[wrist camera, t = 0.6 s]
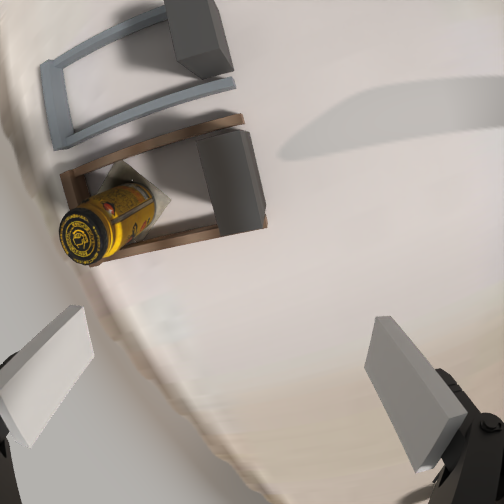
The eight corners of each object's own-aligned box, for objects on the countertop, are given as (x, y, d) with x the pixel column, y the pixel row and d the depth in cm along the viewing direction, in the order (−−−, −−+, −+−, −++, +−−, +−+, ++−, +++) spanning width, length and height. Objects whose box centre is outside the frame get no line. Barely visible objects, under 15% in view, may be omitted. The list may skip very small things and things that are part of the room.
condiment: (140, 244, 37) (91, 288, 26) (91, 203, 35) (31, 232, 24) (172, 199, 34) (126, 230, 23) (119, 156, 33) (57, 169, 22)
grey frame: (215, -3, 25) (196, -40, 17) (238, 87, 29) (225, 70, 21) (53, 67, 28) (8, 60, 20) (68, 148, 32) (20, 156, 24)
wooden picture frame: (245, 114, 30) (233, 105, 22) (270, 222, 34) (267, 251, 26) (73, 170, 33) (27, 183, 25) (101, 258, 37) (63, 289, 29)
